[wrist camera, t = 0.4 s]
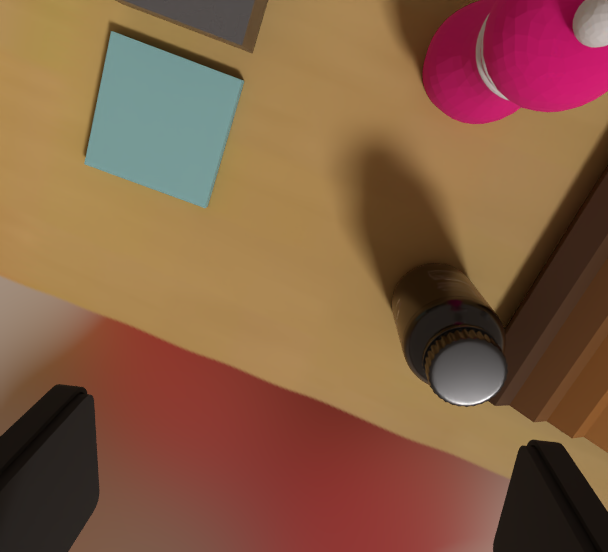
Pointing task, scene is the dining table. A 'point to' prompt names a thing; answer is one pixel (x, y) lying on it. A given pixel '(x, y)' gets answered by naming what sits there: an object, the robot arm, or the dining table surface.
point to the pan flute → (565, 332)
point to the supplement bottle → (450, 334)
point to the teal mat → (161, 120)
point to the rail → (210, 17)
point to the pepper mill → (518, 58)
